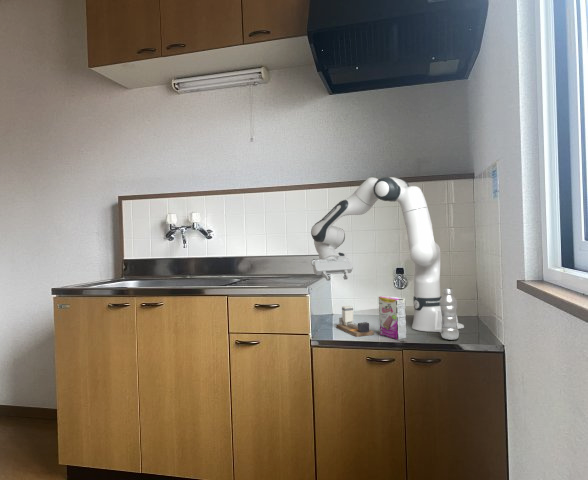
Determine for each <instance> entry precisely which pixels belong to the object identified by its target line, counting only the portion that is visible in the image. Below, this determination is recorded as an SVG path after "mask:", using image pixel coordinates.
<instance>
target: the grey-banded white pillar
mask: <svg viewBox="0 0 588 480" xmlns="http://www.w3.org/2000/svg"><path fill="white" fill-rule="evenodd" d="M341 316H342V317H341V318H342V320H343V321H344V325H346V326H347V322H352V323H353V322H354V307H353V306H352V305H346V306H341Z"/></svg>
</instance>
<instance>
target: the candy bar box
mask: <svg viewBox="0 0 588 480" xmlns="http://www.w3.org/2000/svg"><path fill="white" fill-rule="evenodd" d="M378 311H379V312H378V314H379V315H378V316H379V317H378V318H379V319H378V320H379V335H380V336H383V337H387V338H390V339H394V340H397V341H401V340H405V339H407V338H408V337H407V316H406V315H407V313H406V312H407V311H406V298H403V297H397V296H392V295H382V296H378Z"/></svg>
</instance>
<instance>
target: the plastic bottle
mask: <svg viewBox="0 0 588 480" xmlns="http://www.w3.org/2000/svg"><path fill="white" fill-rule="evenodd" d="M442 294H443V295H442V296H441V297H442V298H441V299H440V308H441V315H442V327H441V332H440V336H441V338H442V339H444V340H449V341H454V340H457V339H458V338H459V335H460V332H459V329H458V328H457V320H456V315H457V309H458V301H457V298H456V297H455V296H454V288H452V287H451V288H450V287H448V288H445V287H444V288H443V289H442Z"/></svg>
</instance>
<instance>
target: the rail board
mask: <svg viewBox="0 0 588 480" xmlns="http://www.w3.org/2000/svg"><path fill="white" fill-rule="evenodd" d="M336 329H338V330H339V331H340V330H341V331H342V332H346V334H349V335H352V336H353V337H357V338H359V337H365V336H367V337H368V336H373V335H375V334H374V332H375V331H374V330H371V329H369V332H363V333H360V332H358V330H357V329H354V328H351V327H349V326H346V325H344V321H343V320H342V317H339V318H338V324H336Z"/></svg>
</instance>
